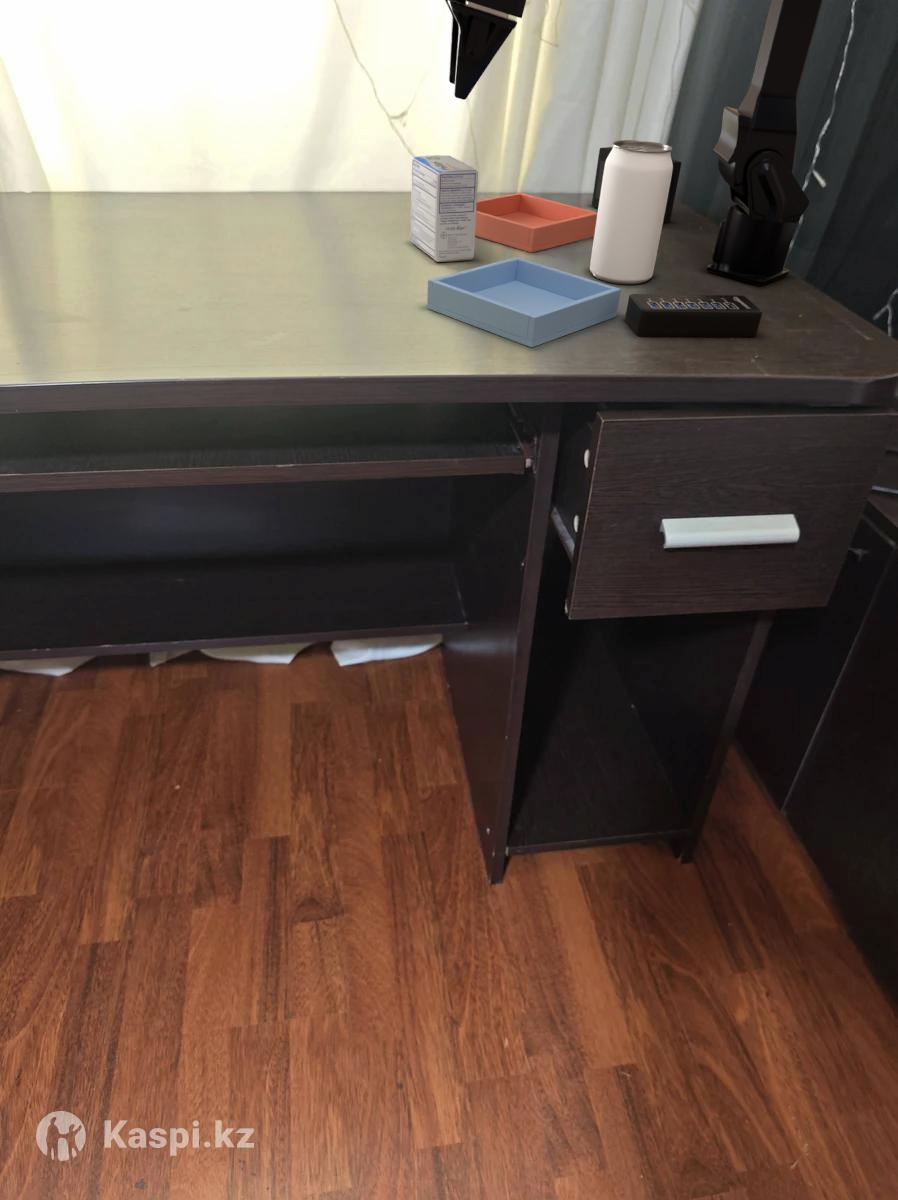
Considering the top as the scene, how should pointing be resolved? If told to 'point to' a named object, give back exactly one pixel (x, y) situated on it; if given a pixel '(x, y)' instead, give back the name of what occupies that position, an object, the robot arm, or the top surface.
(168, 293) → the top surface
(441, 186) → the medicine box
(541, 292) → the blue tray
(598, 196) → the digital camera
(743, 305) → the multiport hub
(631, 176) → the can
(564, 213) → the coral tray
